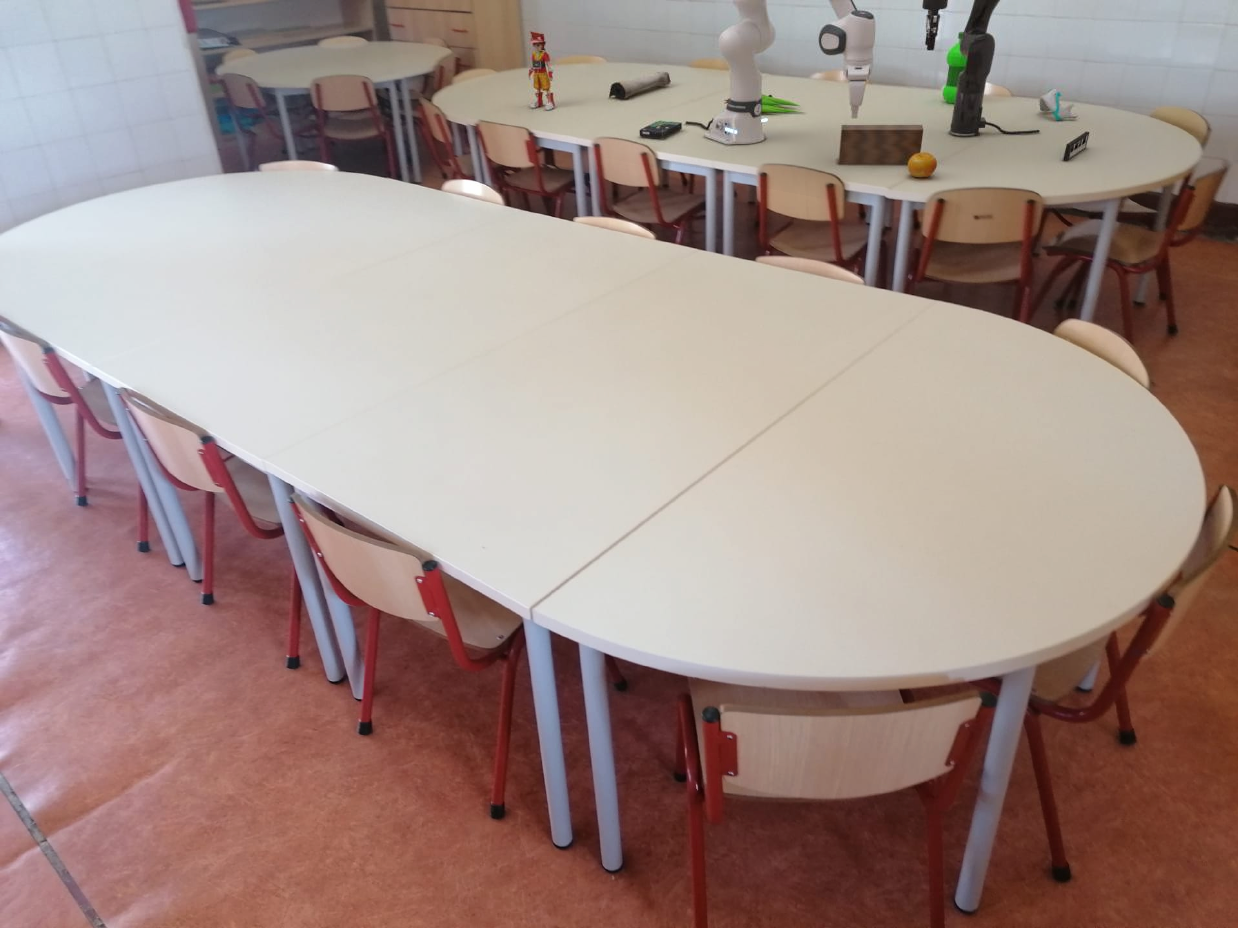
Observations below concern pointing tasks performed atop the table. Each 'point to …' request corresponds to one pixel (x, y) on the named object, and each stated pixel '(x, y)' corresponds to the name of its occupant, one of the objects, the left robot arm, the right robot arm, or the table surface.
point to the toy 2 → (769, 104)
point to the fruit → (922, 164)
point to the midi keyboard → (1076, 145)
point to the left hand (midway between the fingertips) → (854, 114)
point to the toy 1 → (541, 71)
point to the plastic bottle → (954, 71)
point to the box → (879, 144)
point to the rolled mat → (638, 84)
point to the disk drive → (660, 129)
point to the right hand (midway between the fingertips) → (929, 47)
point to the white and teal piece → (1055, 105)
